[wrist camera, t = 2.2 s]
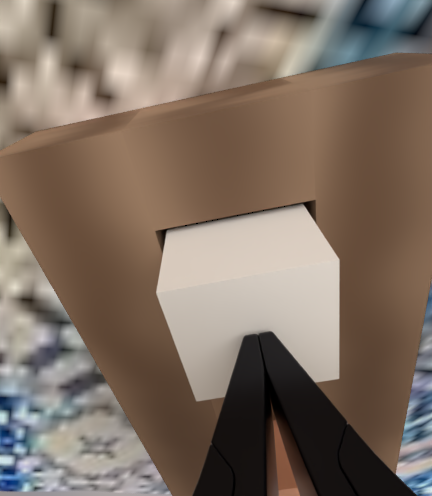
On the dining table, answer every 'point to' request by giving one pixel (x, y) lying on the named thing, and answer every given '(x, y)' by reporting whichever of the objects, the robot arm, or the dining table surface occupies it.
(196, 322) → the white square block
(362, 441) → the robot arm
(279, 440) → the terracotta plunger
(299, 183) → the button panel
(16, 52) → the dining table surface
